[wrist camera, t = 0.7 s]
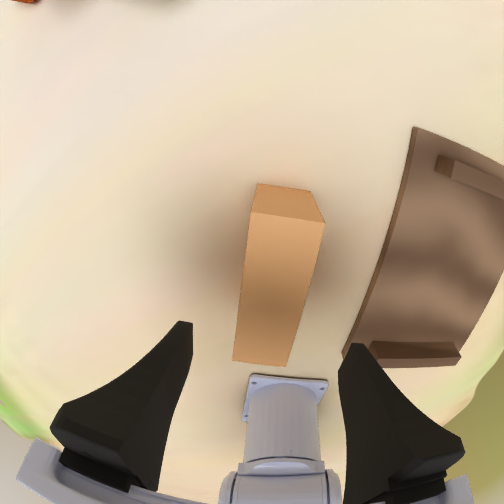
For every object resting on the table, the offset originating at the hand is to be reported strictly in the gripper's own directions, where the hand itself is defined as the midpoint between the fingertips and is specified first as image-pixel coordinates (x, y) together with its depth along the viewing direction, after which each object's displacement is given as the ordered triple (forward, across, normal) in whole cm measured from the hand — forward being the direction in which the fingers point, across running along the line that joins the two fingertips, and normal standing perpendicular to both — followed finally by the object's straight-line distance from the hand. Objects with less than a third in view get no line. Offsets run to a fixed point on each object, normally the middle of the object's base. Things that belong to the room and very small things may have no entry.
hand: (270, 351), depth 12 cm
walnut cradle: (+9, -15, -1) cm, 18 cm away
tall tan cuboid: (+10, 0, 0) cm, 10 cm away
